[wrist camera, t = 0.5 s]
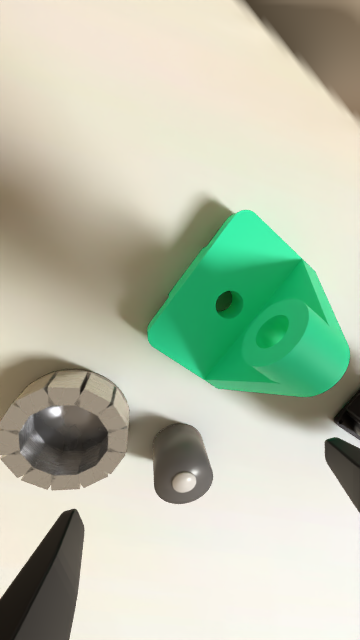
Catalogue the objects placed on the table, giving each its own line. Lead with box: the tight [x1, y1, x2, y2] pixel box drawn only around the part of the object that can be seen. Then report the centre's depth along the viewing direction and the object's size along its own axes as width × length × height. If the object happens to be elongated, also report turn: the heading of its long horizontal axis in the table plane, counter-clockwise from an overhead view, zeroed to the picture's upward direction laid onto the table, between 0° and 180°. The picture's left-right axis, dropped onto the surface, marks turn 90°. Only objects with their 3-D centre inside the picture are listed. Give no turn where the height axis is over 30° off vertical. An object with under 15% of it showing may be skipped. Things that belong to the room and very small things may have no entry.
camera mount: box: [147, 210, 350, 397], centre depth 16 cm, size 12×8×10 cm, turn 143°
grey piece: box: [0, 369, 130, 490], centre depth 20 cm, size 10×10×3 cm
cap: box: [153, 424, 213, 504], centre depth 22 cm, size 5×5×4 cm
